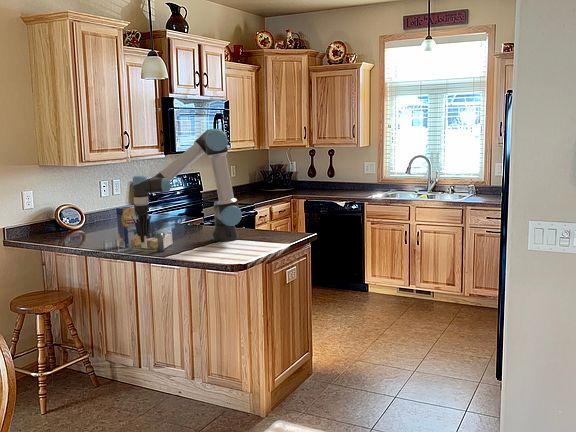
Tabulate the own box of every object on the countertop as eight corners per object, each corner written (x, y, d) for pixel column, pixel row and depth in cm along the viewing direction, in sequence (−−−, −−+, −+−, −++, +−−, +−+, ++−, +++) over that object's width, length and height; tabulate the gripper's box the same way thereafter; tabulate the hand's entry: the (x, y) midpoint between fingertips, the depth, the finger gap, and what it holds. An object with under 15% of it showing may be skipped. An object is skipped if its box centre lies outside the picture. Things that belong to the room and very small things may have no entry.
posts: (165, 251, 314) (163, 233, 312) (161, 252, 311) (160, 234, 309) (135, 249, 321) (134, 231, 319) (132, 250, 318) (131, 232, 316)
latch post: (135, 249, 321) (134, 231, 319) (131, 250, 318) (130, 232, 316) (132, 249, 321) (131, 231, 320) (129, 250, 319) (127, 232, 317)
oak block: (164, 247, 326) (163, 238, 325) (154, 250, 319) (154, 241, 318) (153, 246, 329) (152, 237, 328) (143, 249, 322) (142, 240, 321)
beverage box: (142, 244, 334) (139, 206, 330) (125, 248, 326) (122, 209, 322) (135, 243, 338) (133, 205, 335) (118, 246, 330) (116, 208, 327)
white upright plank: (164, 249, 315) (163, 236, 313) (160, 249, 315) (159, 236, 314) (172, 243, 329) (171, 231, 328) (169, 243, 330) (168, 231, 328)
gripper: (142, 202, 319) (145, 245, 323) (128, 206, 307) (131, 249, 311) (154, 203, 316) (157, 245, 320) (140, 206, 304) (143, 250, 308)
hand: (144, 247), depth 315 cm, fingers closed
